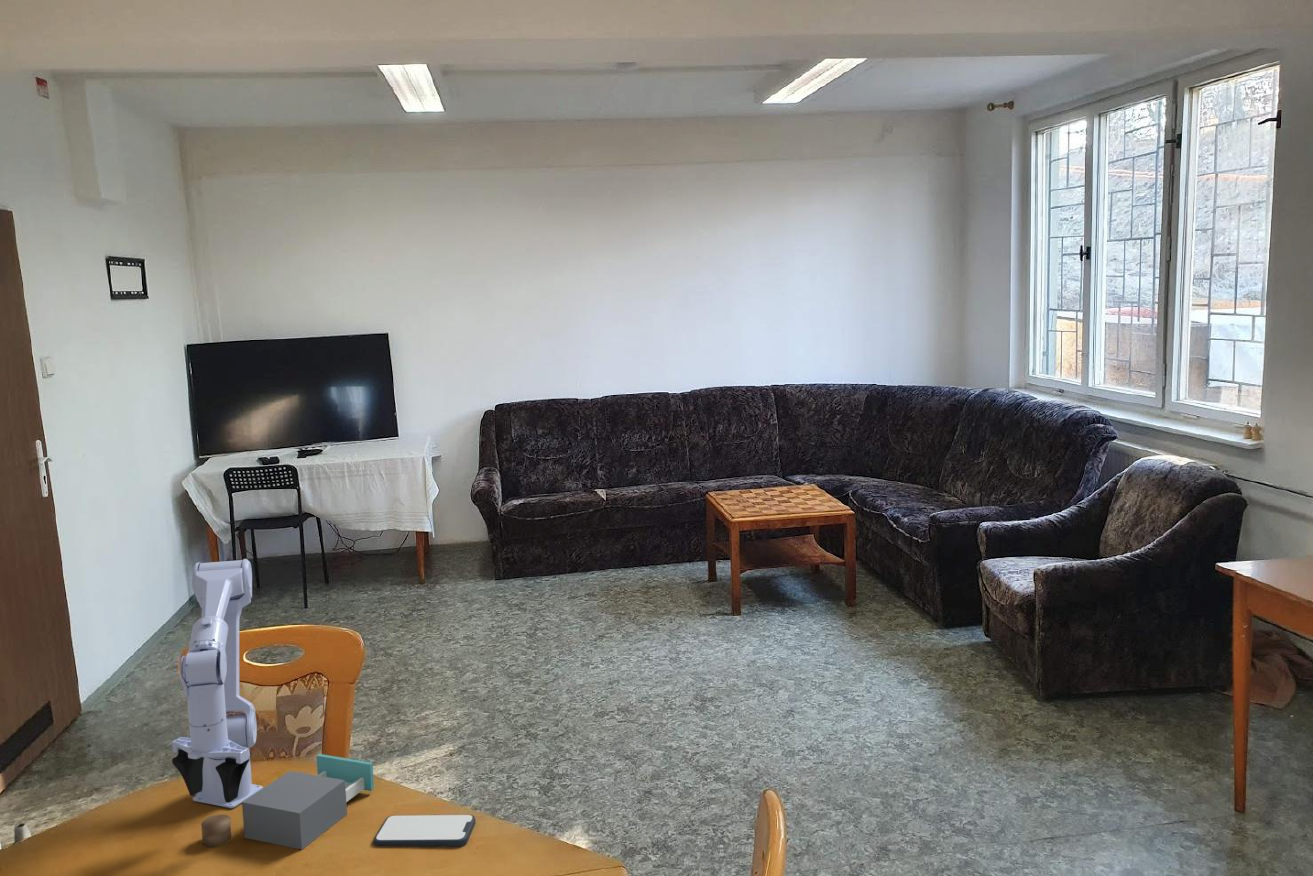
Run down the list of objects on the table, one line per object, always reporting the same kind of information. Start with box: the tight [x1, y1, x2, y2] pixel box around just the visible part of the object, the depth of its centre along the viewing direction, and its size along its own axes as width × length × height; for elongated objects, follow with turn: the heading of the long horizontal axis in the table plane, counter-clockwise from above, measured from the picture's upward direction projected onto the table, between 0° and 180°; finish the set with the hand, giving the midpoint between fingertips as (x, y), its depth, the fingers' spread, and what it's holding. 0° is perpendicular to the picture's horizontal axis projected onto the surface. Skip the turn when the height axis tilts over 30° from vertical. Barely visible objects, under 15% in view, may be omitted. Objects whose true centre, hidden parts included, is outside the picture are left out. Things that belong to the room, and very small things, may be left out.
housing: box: [241, 770, 348, 851], centre depth 169 cm, size 12×12×6 cm
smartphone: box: [372, 814, 477, 848], centre depth 167 cm, size 9×2×16 cm
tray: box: [316, 753, 375, 803], centre depth 177 cm, size 12×12×5 cm
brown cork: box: [200, 814, 232, 848], centre depth 165 cm, size 4×4×4 cm
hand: (213, 796), depth 164 cm, fingers open, 7 cm apart
